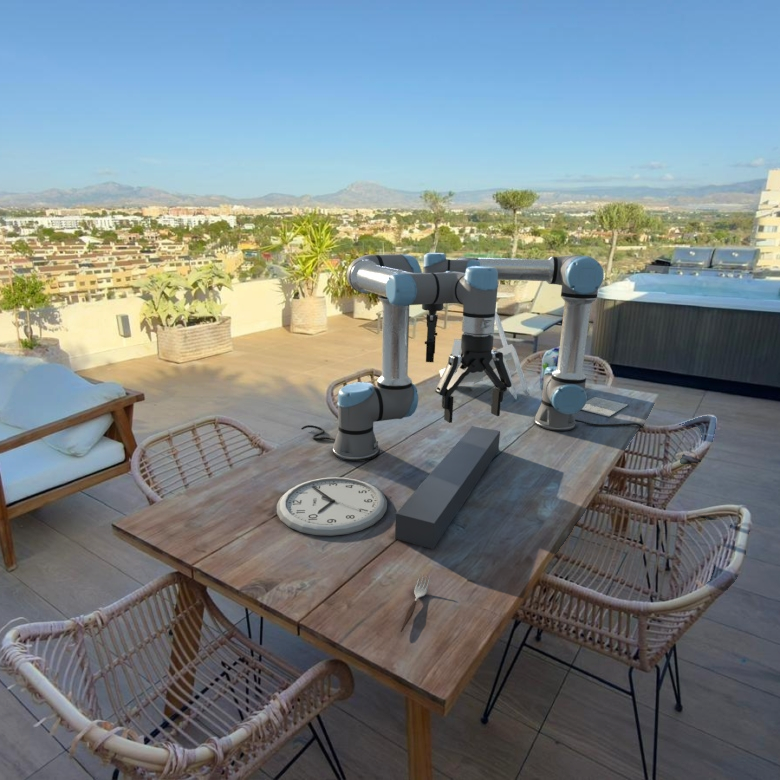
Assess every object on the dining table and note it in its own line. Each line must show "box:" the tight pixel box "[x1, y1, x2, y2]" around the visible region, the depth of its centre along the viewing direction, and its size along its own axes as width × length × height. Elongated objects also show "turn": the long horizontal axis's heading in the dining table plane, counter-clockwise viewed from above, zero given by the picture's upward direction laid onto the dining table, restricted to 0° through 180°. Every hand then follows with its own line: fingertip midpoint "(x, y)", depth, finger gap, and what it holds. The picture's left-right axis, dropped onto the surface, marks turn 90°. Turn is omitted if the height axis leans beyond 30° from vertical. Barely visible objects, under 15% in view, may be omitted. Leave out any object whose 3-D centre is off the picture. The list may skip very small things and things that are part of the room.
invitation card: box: [580, 396, 629, 418], centre depth 226 cm, size 21×1×15 cm
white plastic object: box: [438, 311, 531, 400], centre depth 245 cm, size 37×45×31 cm
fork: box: [400, 573, 431, 633], centre depth 105 cm, size 3×16×2 cm, turn 160°
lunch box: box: [539, 346, 560, 391], centre depth 246 cm, size 26×11×21 cm, turn 135°
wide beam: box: [394, 425, 501, 550], centre depth 153 cm, size 65×10×7 cm, turn 155°
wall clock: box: [276, 476, 388, 537], centre depth 142 cm, size 30×2×30 cm
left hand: (472, 417), depth 130 cm, fingers open, 13 cm apart
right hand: (430, 357), depth 189 cm, fingers open, 13 cm apart
